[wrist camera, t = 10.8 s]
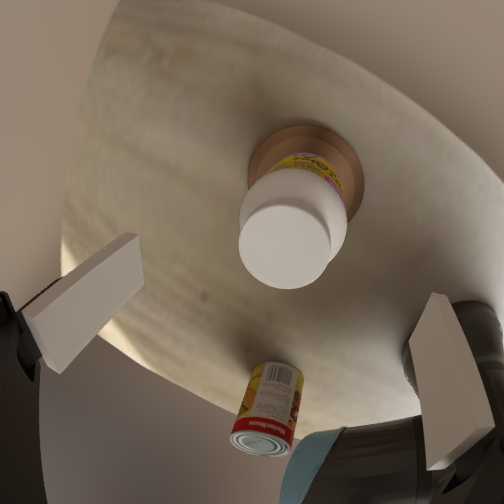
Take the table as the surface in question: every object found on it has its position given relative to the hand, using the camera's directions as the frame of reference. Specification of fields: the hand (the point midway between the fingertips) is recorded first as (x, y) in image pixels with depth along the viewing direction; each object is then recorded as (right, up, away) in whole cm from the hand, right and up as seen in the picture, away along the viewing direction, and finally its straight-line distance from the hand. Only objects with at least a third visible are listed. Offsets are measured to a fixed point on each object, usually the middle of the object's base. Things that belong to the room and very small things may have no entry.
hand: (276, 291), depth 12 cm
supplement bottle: (+4, +7, +14) cm, 16 cm away
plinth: (+4, +8, +15) cm, 18 cm away
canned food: (+3, -17, +29) cm, 34 cm away
